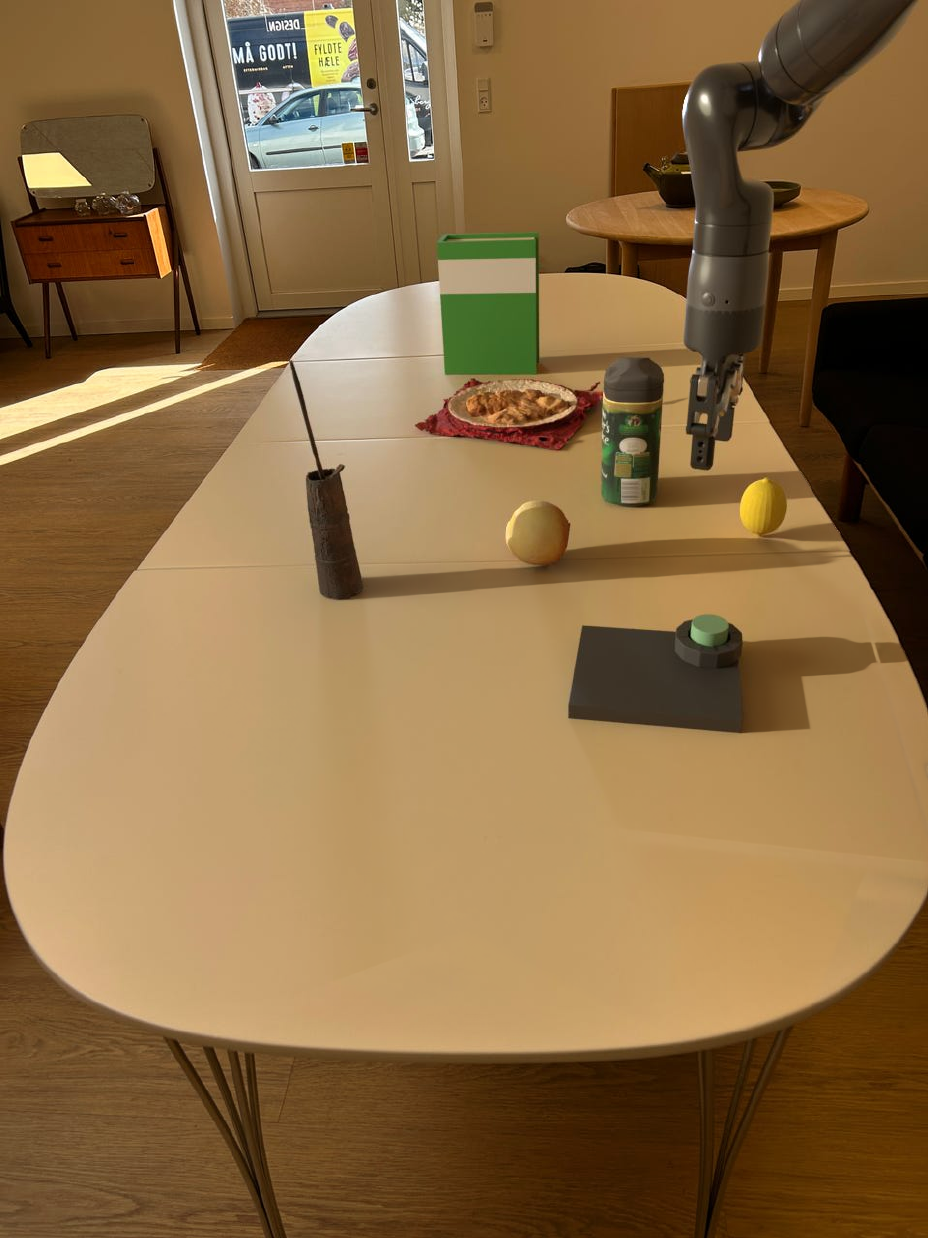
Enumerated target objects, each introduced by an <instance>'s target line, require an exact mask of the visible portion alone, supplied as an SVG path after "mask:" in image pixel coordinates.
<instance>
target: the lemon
mask: <svg viewBox="0 0 928 1238" xmlns="http://www.w3.org/2000/svg"><path fill="white" fill-rule="evenodd" d="M787 501H788V500H787V495H786V492H785V490H784V488H783V487H782V486H781V485H780V484H779V483H778V482H777V481H775V480H773V479H771V478H770V477H764V478H762V479H757V480H756V481H754V482H752V483H750V484H749V485H748V487H747V488H746V489H745V490H744V492H743V495H742V497H741V499H740V504H739V517H740V521H741V523H742V525H743V527H745V529H746V530H748V531H749V532H750V533H752V534H754V535H755V536H756V537H758V538H761V537H763V536H765V535H768V534H771V533H773V532H775V531H776V530H778V529H779V528H780V526H781V525H782V524H783V523H784V520H785V517H786V514H787V509H788V502H787Z"/></svg>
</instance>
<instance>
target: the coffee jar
mask: <svg viewBox="0 0 928 1238" xmlns="http://www.w3.org/2000/svg"><path fill="white" fill-rule="evenodd" d="M664 383H665V373H664V371H663V368H662V366H660V365H659V364H658V363H657V362H655V361H654V360H653V359H651V357H648V356H646V357H645V356H642V357H641V356H640V357H639V356H633V357H632V356H629V357H628V356H626V357H624V356H623V357H619V358H618V359H617V360H616V361H614V362H613V363H611V364H610V365H608V367H607V368H606V370H605V373H604V378H603V390H602V391H603V397H602V412H601V413H602V414H601V468H600V469H601V473H600V491H601V497H602V499H603V500H604V501H605V502H606V503H610V504H612V505H616V506H619V507H627V508H628V507H629V508H630V507H634V508H635V507H638V506H643V505H648V504H651V503H653V502H654V501H655V499H656V498H657V496H658V488H659V486H658V485H659V475H660V473H659V470H660V452H661V440H662V439H661V436H662V422H663V421H662V419H663V404H664V391H665V390H664Z"/></svg>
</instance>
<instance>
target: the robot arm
mask: <svg viewBox="0 0 928 1238" xmlns="http://www.w3.org/2000/svg"><path fill="white" fill-rule="evenodd" d="M920 2H921V0H797V1H796V2H795V3H794V4H792V6H791V7H789V9H787V11H785V12H784V13H783V14H782V15H781V16H780V17H779V18H778V19H777V20H776V21H775V22H774V23H773V25H772V26H771V27H770V28H769V29H768V31H767V33H766V34H765V36H764V38H763V40H762V42H761V45H760V48H759V54H758V60H749V61H735V62H724V63H723V62H721V63H715V64H712V65H708V66H706V67H705V68H703V69H701V70H700V72H698V73H697V74H696V76H695V77H694V79H693V80H692V82H691V83H690V85H689V88H688V90H687V92H686V94H685V98H684V103H683V108H682V129H683V130H682V131H683V139H684V143H685V148H686V154H687V158H688V163H689V170H690V176H691V182H692V190H693V195H694V201H695V214H694V230H693V240H692V241H693V243H692V253H691V259H690V263H689V268H688V276H687V289H686V301H685V302H686V303H685V315H684V329H683V343H684V346H685V348H686V349H688V350H689V351H691V352H694V353H695V352H696V353H698V354H699V355H700V356H701V357H702V360H701V365H700V366H697V367H696V369H695V373H693V374H692V375H691V377H690V380H689V396H688V406H687V418H686V425H685V434H686V435H689V436H692V437H691V451H690V462H689V465H690V467H691V469H693V470H697V471H705V472H706V471H707V472H708V471H710V470H711V469H712V468H713V466H714V459H715V449H716V441H718V442H725V443H727V442H729V441H730V440H731V438H732V437H733V430H734V429H733V428H734V419H735V409H736V408H735V407H737V405H738V403H739V402H740V401H739V399H740V398H739V396H741V395H742V393H743V391H744V387H743V384H744V372H745V364H746V363H745V362H746V354H749V353H751V352H753V351H755V350H757V349H758V348H759V347H760V345H761V343H762V336H763V327H764V318H765V308H766V299H767V292H768V283H769V249H770V241H771V232H772V223H773V215H774V203H775V202H774V201H775V196H774V195H775V194H774V190H773V188H772V187H771V185H770V184H769V183H766V182H765V181H762V180H759V179H755V178H746V177H743V175H742V171H741V169H740V164H739V160H738V153H739V152H748V151H757V150H766V149H770V148H774V147H777V146H779V145H782V144H783V143H785V142H787V141H788V140H791V139H792V138H794V137H795V136H796V135H797V134H799V133H800V131H802V129H803V128H804V127H805V126H806V124H807V123H808V122H809V121H810V120H811V118H812V116H813V115H814V114H815V113H816V112H817V111H818V109H819V107H820V106H821V105H822V103H823V102H824V100H825V99H826V97H827V96H828V94H829V93H831V92H832V91H833V90H835V89H836V88H838V87H839V86H841V85H842V84H844V83H845V82H846V81H847V80H848V79H850V78H851V77H853V76H854V75H855V74H856V73H858V72H859V71H860V70H862V69H863V68H864V67H866V66H867V65H868V64H869V63H870V62H872V61H873V60H874V59H875V58H876V57H878V56H879V55H880V54H881V53H882V52H883V51H884V50H886V48H887V47H888V46H889V45H890V44H892V42H893V41H894V40H895V38H896V37H897V36H898V35H899V33H900V32H902V30H903V29H904V27H905V25H906V24H907V23H908V21H909V19H910V18H911V17H912V14H913V12H914V11H915V9H916V8H917V5H919V3H920ZM702 415H707V419H706V423H704V422H700V421H701V416H702Z"/></svg>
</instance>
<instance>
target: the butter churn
mask: <svg viewBox="0 0 928 1238" xmlns="http://www.w3.org/2000/svg"><path fill="white" fill-rule="evenodd" d="M288 364H289V367H290V371H291V377H292V381H293V384H294V388H295V391H296V394H297V397H298V402H299V407H300V409H301V412H302V416H303V420H304V424H305V428H306V431H307V435H308V438H309V442H310V443H309V444H310V446H311V451H312V455H313V456H314V460H315V465H316V468H317V469H316V470H312V471H308V472H307V474H306V475H305V488H306V502H307V512H308V521H309V524H310V529H311V536H312V541H313V551H314V560H315V565H316V567H315V568H316V574H317V583H318V591H319V594H320V595H322V597H324V598H326V599H329V600H330V599H333V600H334V599H337V600H338V599H346V598H349V597H350V596H352V595H357V594H359V593H360V592H361V591H362V590H363V589H364V583H363V579H362V573H361V569H360V564H359V560H358V556H357V550H356V548H355V543H354V539H353V532H352V527H351V523H350V513H349V512H348V511H349V510H348V509H349V508H348V504H347V500H346V495H345V490H344V485H343V480H342V476H341V472H343V471H344V470H345V468H346V466H345V465H344V464H342V463H340V464H338V465H337V466H336V468H332V467H331V468H323V466H322V463H321V460H320V457H319V456H320V455H319V451H318V446H317V444H316V440H315V436H314V432H313V428H312V425H311V422H310V418H309V413H308V409H307V405H306V400H305V397H304V393H303V390H302V386H301V381H300V380H299V379H300V378H299V377H298V373H297V370H296V367H295V364H294V362H293V360H292V359H290V360H289V361H288Z"/></svg>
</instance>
